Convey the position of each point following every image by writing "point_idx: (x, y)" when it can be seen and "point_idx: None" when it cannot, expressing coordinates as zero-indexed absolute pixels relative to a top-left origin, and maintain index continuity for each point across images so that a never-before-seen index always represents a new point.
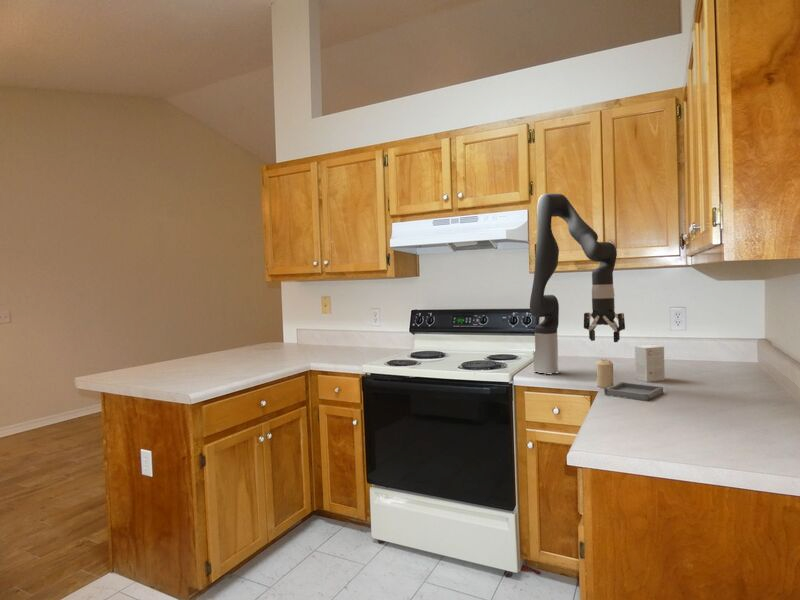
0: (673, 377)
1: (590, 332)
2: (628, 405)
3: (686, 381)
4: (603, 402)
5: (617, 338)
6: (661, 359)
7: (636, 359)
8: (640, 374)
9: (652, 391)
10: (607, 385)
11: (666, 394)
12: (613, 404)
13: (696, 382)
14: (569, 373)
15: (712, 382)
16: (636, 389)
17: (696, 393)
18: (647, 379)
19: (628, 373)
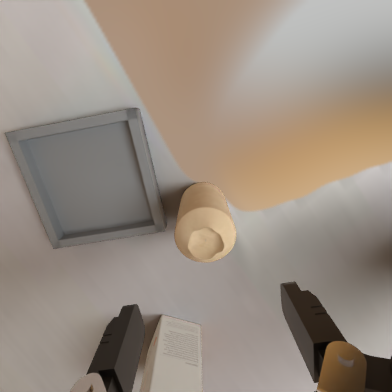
0: None
1: (322, 328)
2: (8, 39)
3: None
4: (75, 11)
5: (109, 330)
6: None
7: (196, 377)
8: (183, 333)
9: (29, 182)
10: (185, 191)
11: None
12: (39, 12)
13: None
14: (378, 278)
15: (72, 385)
16: (112, 214)
17: (18, 284)
18: (161, 319)
19: (250, 363)
